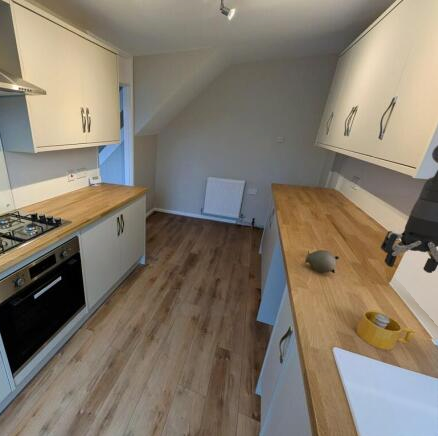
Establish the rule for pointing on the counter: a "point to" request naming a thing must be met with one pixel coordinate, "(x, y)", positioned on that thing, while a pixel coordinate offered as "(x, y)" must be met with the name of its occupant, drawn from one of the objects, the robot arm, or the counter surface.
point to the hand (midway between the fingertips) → (407, 268)
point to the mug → (381, 331)
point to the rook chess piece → (381, 321)
